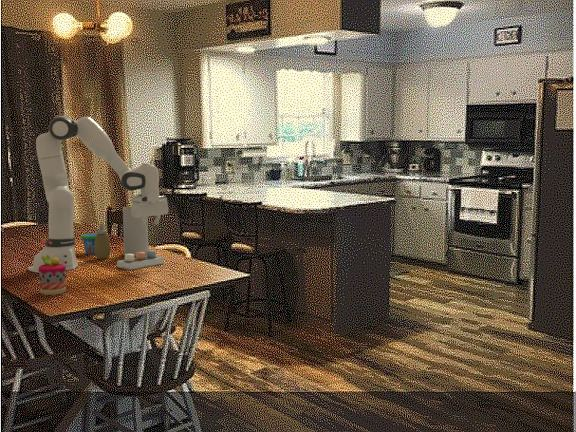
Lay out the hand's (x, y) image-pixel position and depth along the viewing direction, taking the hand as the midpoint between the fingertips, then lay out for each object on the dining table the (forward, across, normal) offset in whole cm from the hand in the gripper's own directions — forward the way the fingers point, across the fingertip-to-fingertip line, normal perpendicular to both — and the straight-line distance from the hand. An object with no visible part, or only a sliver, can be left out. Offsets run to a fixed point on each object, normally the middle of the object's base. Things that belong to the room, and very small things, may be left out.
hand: (150, 225), depth 311 cm
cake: (+19, +63, +17) cm, 68 cm away
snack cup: (+19, +4, -44) cm, 48 cm away
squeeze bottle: (+19, +8, -29) cm, 36 cm away
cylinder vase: (+19, -10, -25) cm, 33 cm away
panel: (+19, +7, 0) cm, 20 cm away
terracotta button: (+16, +7, 0) cm, 17 cm away
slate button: (+16, 0, 0) cm, 16 cm away
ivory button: (+16, +13, 0) cm, 21 cm away
